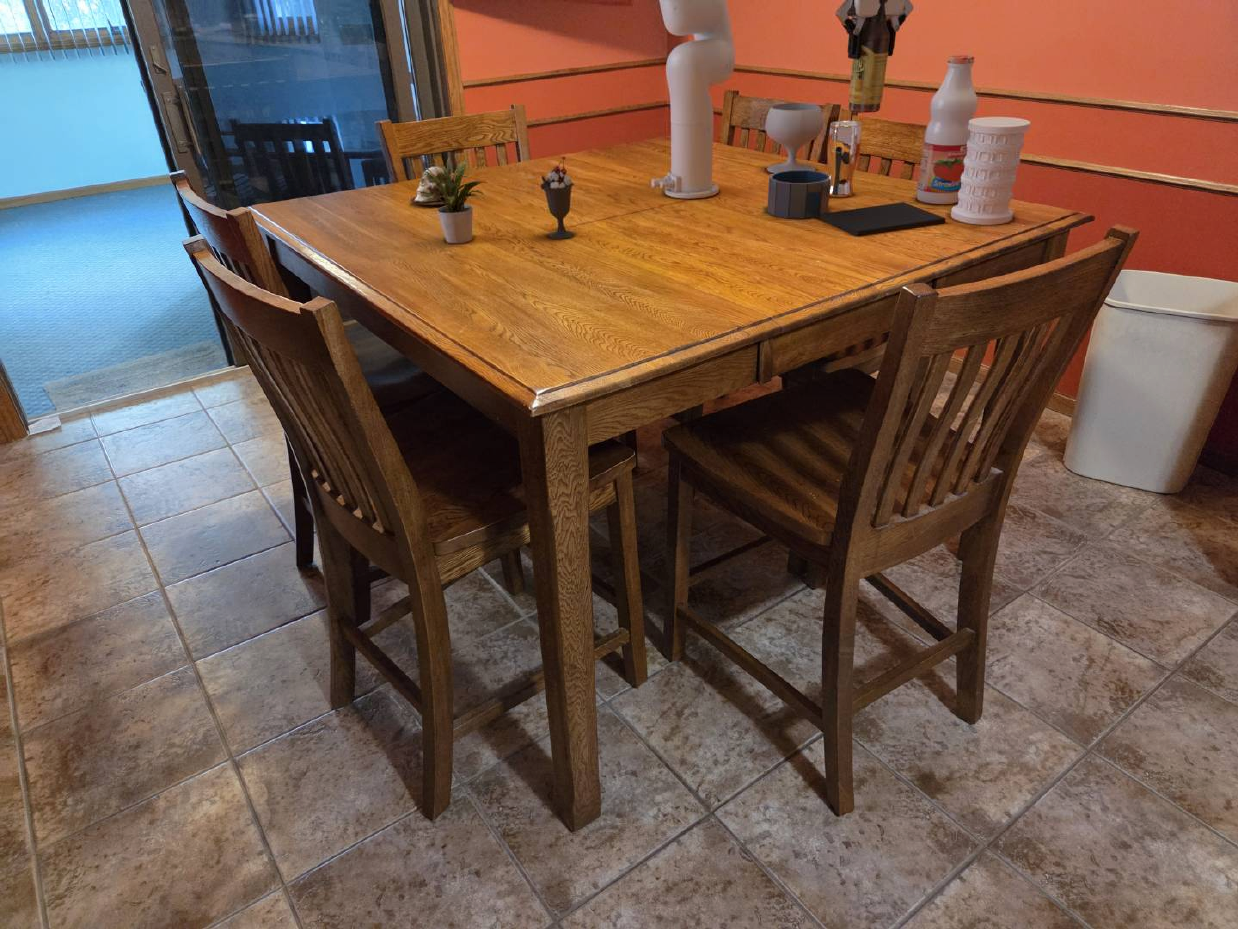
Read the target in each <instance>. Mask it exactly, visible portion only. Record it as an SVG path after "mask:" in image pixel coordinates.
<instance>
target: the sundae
mask: <svg viewBox="0 0 1238 929" xmlns="http://www.w3.org/2000/svg"><path fill="white" fill-rule="evenodd" d="M566 159H567V157H566V156H562V158H561V161H560V162H559V163H558V165H555V166H554V167H553V168H552V170H550V171H549V172H548V173H547V175H546V178H545V176H544V175H542V176H541V180H542V182H543V183H541V184H540V189H541V190H542V191H544V194H545V198H546V202H547V207H548V211H549V213H550V214H551V215H552V216H553V217H554V218H555V219H556V220H557V229H556V231H554V232H551V233H550V234H549V238H551V239H553V240H563V239H564V240H566V239H570V238H572V237H574V232H572V231H568V230H567V229H566V227H565V223H564V219H565V218H566V216H568V214H569V213H570V210H571V195H572V188H573V186H574V185H575V183H573V182H572V179H571V178H570V176H569V175H568V174H567V173H568V171H567V169H565V164H564V161H565V160H566ZM561 163H562V168H560V165H561Z"/></svg>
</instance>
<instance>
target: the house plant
mask: <svg viewBox="0 0 1238 929" xmlns="http://www.w3.org/2000/svg"><path fill="white" fill-rule="evenodd" d="M465 159H466V158H464V159H463V160H462V161H461V162H460V163H458V166H457V167H456V169H455V170H454V172H453V175H452V174H451V165H450V156H448V157H447V161H446V166H445V165H444V164H441V168H442V169H443V171H444V174H443V173H439V172H438V170H437V169H436V168H435V167H436V166H434V165H433V164H429V163H427V166H430V167H434V168H435V169H436V170H437V172H438V173H436V174H438V175H439V176H440V177H441V179H442V181H443V183H444V185H445V186H444V185H443V184H441V183H440V182H439V180H438V179H437V177H436V176H435V175H434V174H433V173H432V172H431V171H430V170H429V167H428V168H427V167H425V166H422V167H423V168H424V169H423V168H422V169H421V170H422V171H421V170H418V169H417V170H416V169H415V171H416V172H419V173H422V174H423V172H425V173H427V174H428V175H429V176H430V177H429V176H428V175H427V174H425V173H424V174H425V175H426V176H428V177H429V178H430V179H431V180H432V181H433V182H434V183H435V185H436V187H437V188H438V189H439V190H440V191H441V193H442V197H443V198H444V200H445V202H446V203H445V202H444V201H443V200H441V199H440V198H439V197H438V196H437V197H438V198H435V197H431V198H428V199H432V198H434V199H439V200H441V201H442V202H443V203H444V204H446V205H443V206H441V207H439V208H437V210H436V213H437V215H438V218H439V221H440V224H441V227H442V230H443V234H444V237H445V240H446V242H447V243H449V244H450V243H451V244H463V243H468V242H471V240H473V217H474V216H473V214H474V213H473V211H474V207H473V206H472V205H470V204H465V203H466V201H467V200H468V199H469V198H470V197H474V198H477V199H479V197H478V194H480V195H482V196H483V197H484V198H485V194H484V192H482V191H481V190H478V189H475V190H472V189H473V188H474V187H476V186H478V185H480V184H484V183H485V181H481V180H477V181H470V182H468V183H464V182H465V181H466V179H467V178H468V177H469V176H470V174H471V173H473V171H474V170H476V169H477V168H478V167H480V166H481V165H477V166H475V167H473V168H472V169H471V170H470V171H467V172H466V165H467V163H468V160H469V159H466V160H465ZM425 169H426V170H428V171H429V172H430V173H431V174H432V175H431V174H430V173H429V172H427V171H426V170H425ZM464 174H467V175H464ZM451 175H452V177H453V182H452V183H451ZM463 178H465V179H464V180H463ZM462 180H463V183H462ZM453 184H454V185H453ZM476 193H477V194H476ZM425 196H436V195H435V194H432V193H425V194H424V195H423V197H425ZM458 196H459V197H458ZM423 197H422V198H423ZM440 197H441V196H440ZM428 199H426V200H428Z"/></svg>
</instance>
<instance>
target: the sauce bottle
mask: <svg viewBox="0 0 1238 929" xmlns="http://www.w3.org/2000/svg"><path fill="white" fill-rule="evenodd" d="M887 1H888V0H879V3H880V8H879V10H878V12H877V15H875V16H873V17H866V19H865V21H864V24H863V26H862V28H861V31H860V35H862V45H861V55H860V58H859V59H852V65H851V75H850V83H849V92H848V111H849V112H852V113H857V114H862V113H863V114H864V113H865V114H866V113H877V112H879V111H880V110H881V103H882V102H883V96H884V88H885V87H884V86H885V80H886V72H887V67H888V66H887V65H888V57H889V56H888V46H889V39H890V34H889V31H888V28H887V26H886V23H885V21H886V14H885V4H886V2H887Z"/></svg>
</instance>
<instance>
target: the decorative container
mask: <svg viewBox="0 0 1238 929" xmlns="http://www.w3.org/2000/svg"><path fill="white" fill-rule="evenodd" d="M1030 126H1031V121H1030V120H1027V119H1025V118H1019V117H1012V116H1011V117H1009V116H982V117H975V118H973V119H971V120H969V124H968V129H969V130H970V131H971V133H970V139H968V141H967V148H968V150H967V156H965V159H964V165H965V167H964V172H963V173H962V175H961V182H962V184H961V189H960V190H959V192H958V198H959V201H958V202H957V205H954V206H953V207H951V211H950V217H951V219H953V220H955V221H958V222H960V223H965V224H971V225H982V226H992V225H993V226H994V225H1002V224H1007V223H1010V222H1011V221H1012V220H1013V216H1014V210H1012V209H1011V208H1010V203H1011V201H1012V200H1013V198H1014V192H1013V188H1014V185H1015V184H1016V182H1017V170H1018V168H1019V165H1020V164H1021V158H1020V156H1021V151H1022V150H1023V148H1024V145H1025V142H1024V137H1025V133H1027V132H1029V130H1030Z"/></svg>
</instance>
